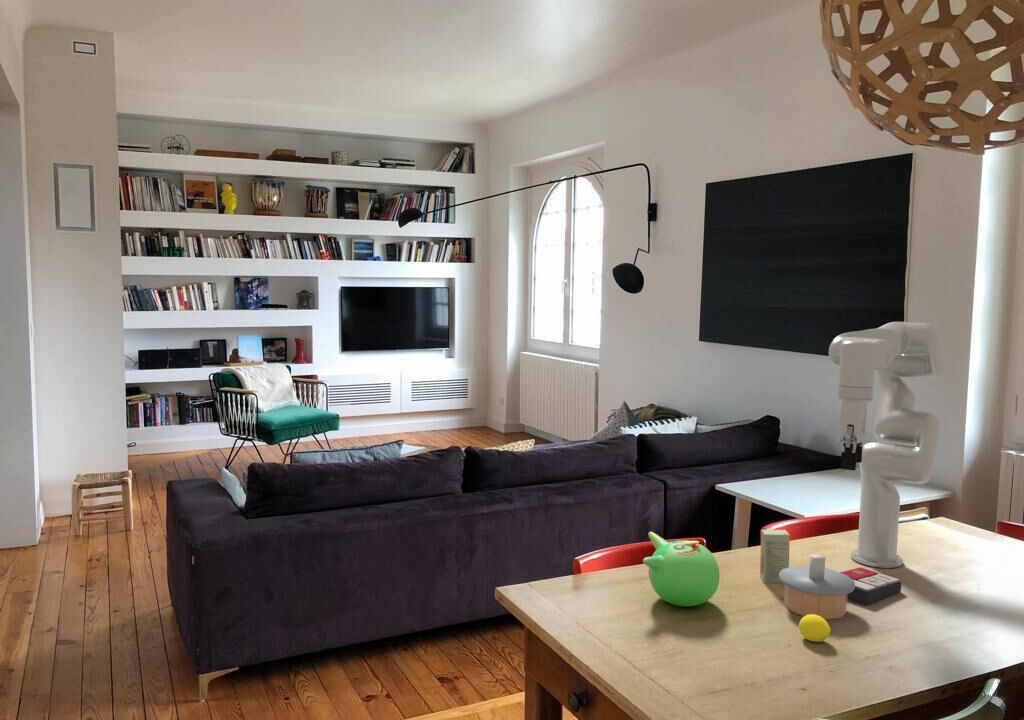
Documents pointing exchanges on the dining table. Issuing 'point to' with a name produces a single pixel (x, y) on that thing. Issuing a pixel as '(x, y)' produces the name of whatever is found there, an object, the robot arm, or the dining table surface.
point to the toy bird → (682, 571)
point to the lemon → (814, 628)
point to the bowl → (815, 604)
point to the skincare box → (774, 554)
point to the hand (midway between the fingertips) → (851, 465)
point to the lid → (816, 578)
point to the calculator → (871, 586)
